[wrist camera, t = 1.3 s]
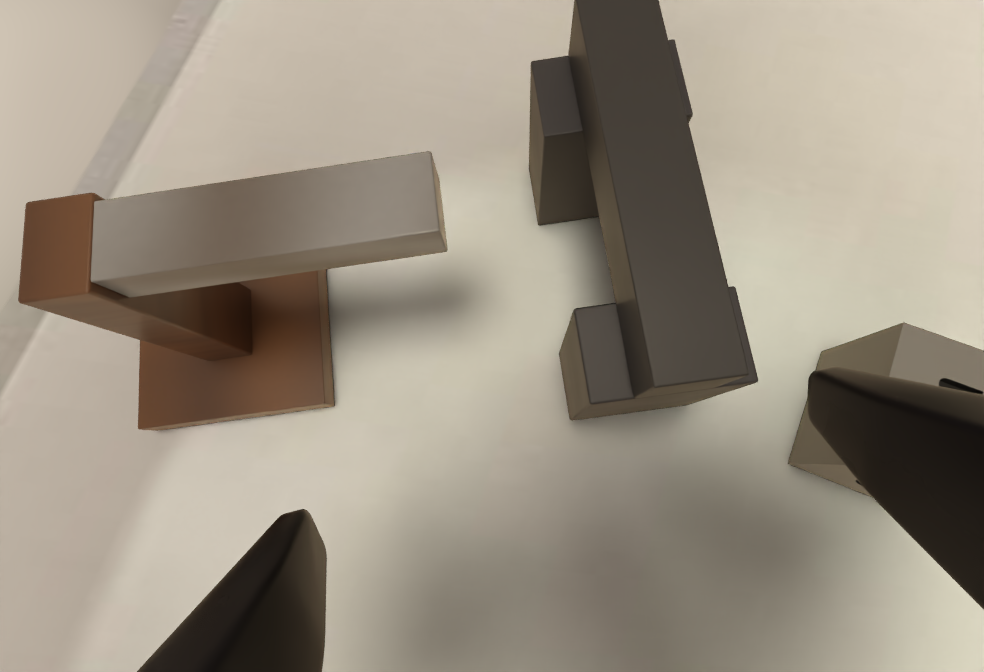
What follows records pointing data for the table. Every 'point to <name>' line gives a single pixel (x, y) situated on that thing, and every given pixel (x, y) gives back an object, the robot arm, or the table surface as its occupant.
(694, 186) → the dark blocky bridge
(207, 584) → the table surface
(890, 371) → the dice cube
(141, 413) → the hanger
